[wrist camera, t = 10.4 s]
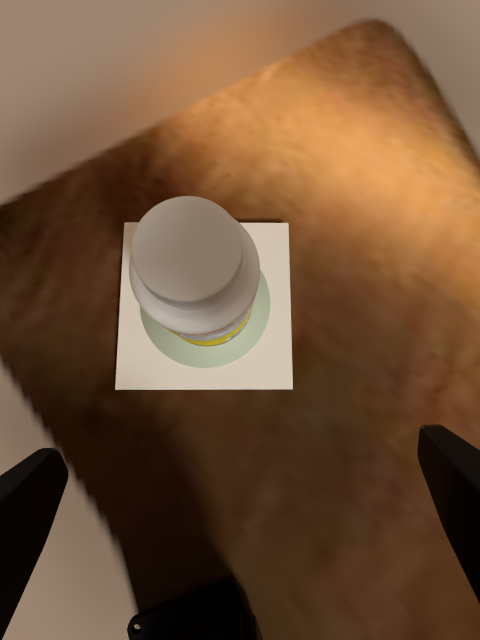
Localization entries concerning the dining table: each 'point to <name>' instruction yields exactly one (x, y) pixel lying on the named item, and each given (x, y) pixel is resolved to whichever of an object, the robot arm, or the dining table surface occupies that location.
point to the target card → (222, 360)
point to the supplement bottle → (194, 270)
